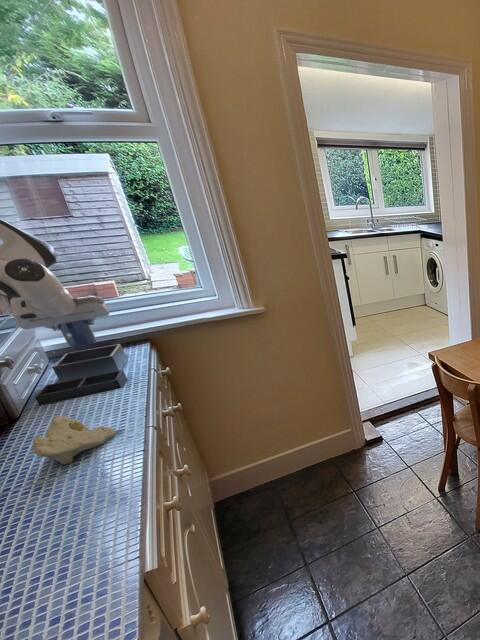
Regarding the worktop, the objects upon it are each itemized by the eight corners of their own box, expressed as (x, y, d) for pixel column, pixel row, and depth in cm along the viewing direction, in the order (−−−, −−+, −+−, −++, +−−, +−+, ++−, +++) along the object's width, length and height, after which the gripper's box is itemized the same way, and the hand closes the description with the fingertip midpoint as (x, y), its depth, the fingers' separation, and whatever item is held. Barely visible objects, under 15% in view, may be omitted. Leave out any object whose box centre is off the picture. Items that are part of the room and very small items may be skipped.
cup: (66, 348, 131) (48, 315, 127) (72, 343, 137) (55, 311, 132) (94, 344, 135) (78, 311, 130) (99, 338, 140) (83, 307, 135)
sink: (61, 384, 131) (51, 367, 128) (74, 369, 142) (65, 353, 139) (120, 372, 138) (112, 355, 135) (127, 359, 149) (120, 343, 146)
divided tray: (40, 407, 116) (34, 396, 115) (51, 395, 123) (45, 385, 122) (122, 390, 125) (117, 379, 123) (127, 379, 132) (122, 369, 131)
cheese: (94, 442, 102) (6, 435, 89) (111, 418, 102) (26, 407, 89) (112, 481, 95) (19, 480, 82) (130, 456, 95) (40, 450, 82)
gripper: (97, 287, 129) (114, 311, 140) (1, 300, 117) (28, 325, 129) (102, 303, 127) (118, 326, 138) (6, 318, 116) (32, 341, 127)
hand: (74, 325), depth 133 cm, fingers closed on cup, 7 cm apart
